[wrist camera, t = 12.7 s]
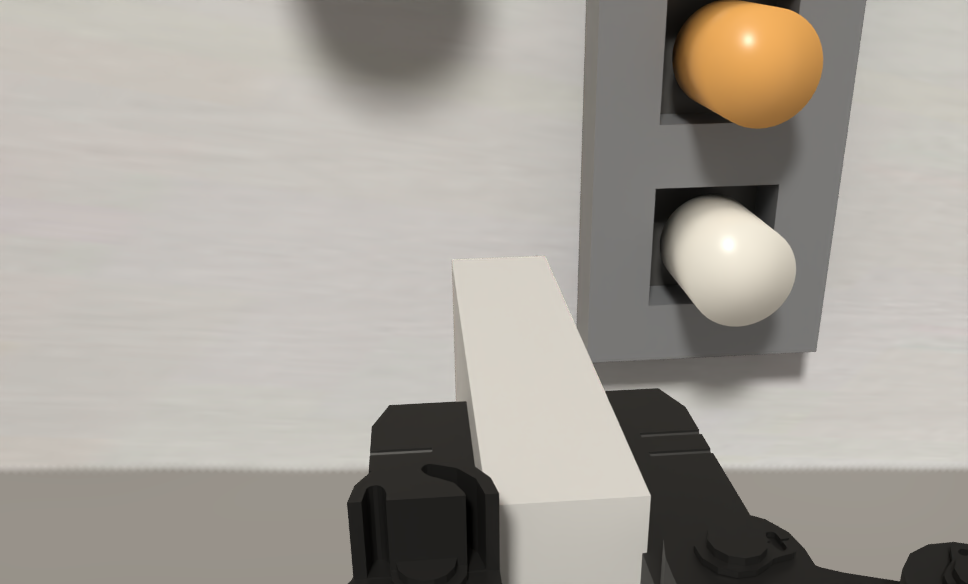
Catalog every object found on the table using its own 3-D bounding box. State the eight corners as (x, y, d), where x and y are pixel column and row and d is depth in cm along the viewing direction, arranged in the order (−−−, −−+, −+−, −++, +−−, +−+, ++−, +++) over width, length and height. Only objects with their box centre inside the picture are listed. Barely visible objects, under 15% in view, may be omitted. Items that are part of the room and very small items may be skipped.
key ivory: (656, 288, 44) (685, 328, 40) (662, 196, 42) (694, 227, 38) (749, 284, 44) (789, 324, 40) (759, 192, 43) (802, 223, 38)
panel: (576, 337, 47) (586, 362, 44) (595, -324, 36) (611, -346, 33) (792, 327, 48) (816, 351, 45) (876, -322, 37) (915, -344, 34)
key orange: (668, 108, 41) (702, 130, 36) (675, 0, 39) (712, 8, 34) (768, 105, 41) (814, 127, 36) (780, -2, 39) (830, 6, 35)
